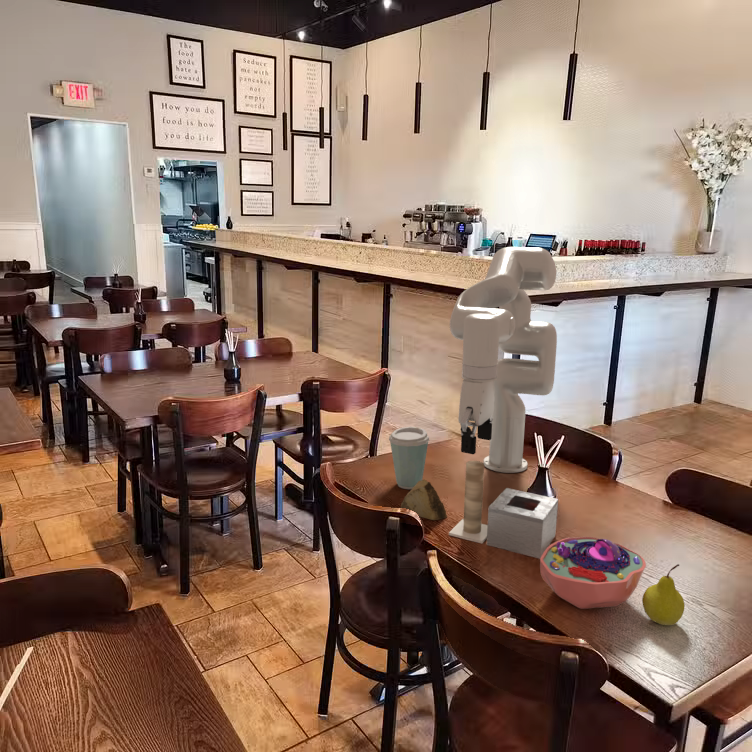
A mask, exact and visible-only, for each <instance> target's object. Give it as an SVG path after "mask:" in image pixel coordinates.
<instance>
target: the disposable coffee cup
mask: <svg viewBox="0 0 752 752" xmlns="http://www.w3.org/2000/svg"><path fill="white" fill-rule="evenodd" d="M388 440H389V442H390V447H391V454H392V455H391V456H392V460H393V461H392V463H393V468H394V469H393V470H394V473H395V481H396V484H397V487H399V488H401V489H404V490H412V488H413V487H414V486H415V485H416V484H417V482H418V481H421V480H424V479H423V478H424V471H425V465H426V458H427V453H428V452H427V451H428V447H429V441H430V436H429V435H428V433H427V430H426V429H424V428H422V427H417V426H405V427H404V426H403V427H400V428H397V429H395V430H394V431H393V432H392V433H390V434H389V438H388Z"/></svg>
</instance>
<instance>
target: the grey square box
mask: <svg viewBox="0 0 752 752" xmlns="http://www.w3.org/2000/svg"><path fill="white" fill-rule="evenodd" d="M558 504H559V499H558V498H556V497H550V496H546V495H541V494H536V493H532V492H527V491H522V490H517V489H513V488H509V487H506V488H505V489H504V490H503V491H502V492H501V493H500V494H499V495H498V496H497V498H496V499H494V500H493V502H492V503H491V504H490V505H489V506H488V509H487V510H488V511H487V512H488V513H487V525H488V527H487V539H486V546H489V547H494V548H497V549H501V550H505V551H509V552H513V553H516V554H520V555H524V556H528V557H532V558H534V559H535V558H536V559H539V560H540V558H541V556H542V555H543V553H544V551H545V550H546V548H547V547H548V546H550V545H551V544H552V541H554V540H553V539H555V536H556V531H557V521H558V520H557V519H558V518H557V517H558V509H559V508H558V506H559V505H558Z"/></svg>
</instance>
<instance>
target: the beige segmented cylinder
mask: <svg viewBox="0 0 752 752" xmlns="http://www.w3.org/2000/svg"><path fill="white" fill-rule="evenodd" d="M484 472H485V466H484V463H483V461H479V460H469V461H467V462H465V478H464V479H465V481H464V482H465V483H464V507H463V519H464V526H463V530H464V531H465V532H467V533H470V534H476V533H479V532H481V524H482V518H483V517H482V516H483V515H482V513H483V497H484V496H483V495H484V478H485V477H484V476H485V475H484Z"/></svg>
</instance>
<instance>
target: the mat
mask: <svg viewBox="0 0 752 752" xmlns="http://www.w3.org/2000/svg"><path fill="white" fill-rule="evenodd" d="M463 526H464V518H462V519H461V520H459V522H458V523H457V524H456V525H455V526H454V527H453V528H452V529H451V530H450V531H449V532H448V536H450V537H455V538H459V539H463V540H467V541H471V542H475V543H478V544H482V545H483V544H484V542H485V541H487V527H488V524H485V523H481V532H479V533H476V534H470V533H467V532H465V531H464V530H463Z"/></svg>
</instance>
